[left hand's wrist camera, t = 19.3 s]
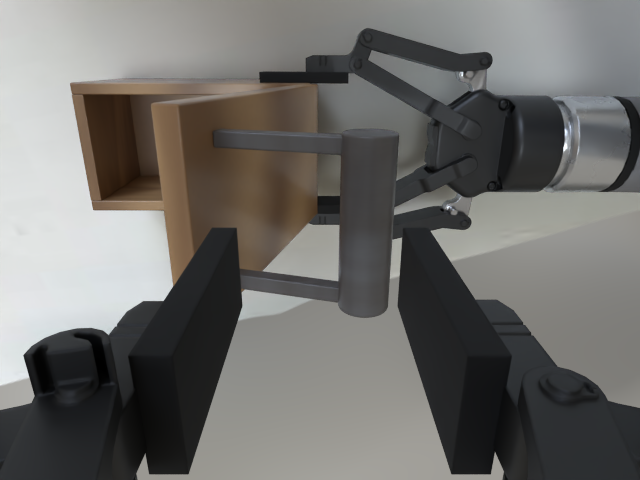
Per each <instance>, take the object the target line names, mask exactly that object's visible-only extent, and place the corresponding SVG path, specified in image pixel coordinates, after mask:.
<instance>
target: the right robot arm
mask: <svg viewBox="0 0 640 480" xmlns="http://www.w3.org/2000/svg"><path fill="white" fill-rule="evenodd" d="M371 50H373V51H377V52H380V53H384V54H387V55H391V56H395V57H398V58H402V59H405V60H409V61H412V62H416V63H419V64H423V65H426V66H430V67H434V68H437V69H441V70H445V71H456V78H457V80H458V81H460V82H465V83H467V84H468V86H469V91H468V92H466V93H465V94H464V95H462V96H461V97H459V98H458V99H456V100H455V101H453V102H452V103H451V104H449V105H448V106H446V105H444V104H442V103H441V102H439V101H437V100H435V99H433V98H432V97H430V96H428V95H426V94H425V93H423V92H421V91H420V90H418V89H416V88H414V87H413V86H411V85H409V84H408V83H406V82H404V81H403V80H401V79H399V78H397V77H396V76H394V75H392V74H391V73H389V72H387V71H386V70H384V69H382V68H380V67H379V66H377V65H375V64H374V63H372V62H370V61H368V58H369V55H370V53H371ZM492 61H493V60H492V56H491V54H489V53H487V52H480V53H469V54H457V53H454V52H450V51H447V50H443V49H440V48H436V47H433V46H429V45H426V44H422V43H419V42H415V41H412V40H408V39H405V38H401V37H398V36H394V35H391V34H387V33H384V32H380V31H377V30H374V29H369V28H367V29H364V30H363V31H361V32H360V33H359V34H358V37H357V40H356V43H355V46H354V48H353V50H352V52H351V53H350V54H348V55H345V56H337V55H312V56H310V57H308V58H306V72H259V74H260V83H348V74H349V73H355V74H356V75H358V76H360V77H362V78H363V79H365V80H367V81H369V82H370V83H372V84H374V85H376V86H377V87H379V88H381V89H382V90H384V91H386V92H388V93H389V94H391V95H393V96H395V97H396V98H398V99H400V100H401V101H403V102H405V103H407V104H408V105H410V106H412V107H414V108H415V109H417V110H419V111H420V112H422V113H424V114H425V115H427V116H429V117H431V118H432V119H431V121H430V123H428V128H427V135H428V141H429V143H428V146H427V149H426V152H425V162H426V165H424V166H422V167H420V168H418V169H416V170H415V171H414V172H413V173H412V174H410V175H408V176H406V177H404V178H402V179H400V180H398V181H396V188H395V204H394V207H396V206H398V205H400V204H402V203H404V202H406V201H408V200H410V199H412V198H414V197H416V196H418V195H420V194H422V193H425V192H431V191H433V190H435V189H437V188H439V187H441V186H444V185H448V186H449V187H450V188H451V189H453V190H454V191H455V192H457V196H456V197H455V198H454V199H452V200H447V201H445V202H444V203H443V205H442V206H433V207H427V208H423V209H419V210H415V211H410V212H406V213H402V214H398V215H394V219H393V234H392V239H397V238H401V237H403V228H429V230H430V231H431V230H436V229H440V228H449V229H459V230H466V229H468V228H469V227H470V225H471V219H470V218H469V217H468V213H469V209H470V204H471V200H472V197H475V196H477V195H479V194H481V193H484V192H538V191H541V190H542V189H543V190H545V191H546V192H640V97H616V96H556V97H555V98H553V99H552V98H550V97H548V96H498V95H494V94H492V93H491V92H489V91H487V90H486V75H487V69H488V68H489V67H490V66H491V64H492ZM309 223H310V224H313V225H340V196H317V214H316V216H315V217H314V218H313V219H312V220H311V221H310V222H309Z"/></svg>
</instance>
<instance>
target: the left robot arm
mask: <svg viewBox="0 0 640 480" xmlns="http://www.w3.org/2000/svg"><path fill="white" fill-rule="evenodd" d="M398 308H399V312H400V315H401V318H402V321H403V324H404V327H405V330H406V334H407V337H408V340H409V343H410V346H411V349H412V352H413V355H414V359H415V362H416V365H417V368H418V371H419V374H420V377H421V380H422V383H423V387H424V390H425V393H426V396H427V399H428V402H429V405H430V409H431V412H432V415H433V418H434V421H435V424H436V427H437V430H438V433H439V437H440V440H441V443H442V446H443V449H444V452H445V455H446V458H447V462H448V465H449V468H450V471H451V474H491V470H492V464H493V458H494V453H495V452H496V455H497V457H498V459H499V461H500V463H501V466H502V468H503V470H504V475H503V480H640V408H637V407H632V406H627V405H622V404H618V403H614V402H610V401H608V400H607V398H606V396H605V395H604V393H603V392H602V391H601V389H600V388H599V387H598V386H597V385H596V384H595V383H593V382H592V381H591V380H589V379H588V378H586V377H585V376H583V375H580V374H578V373H576V372H574V371H571V370H568V369H564V368H560V367H557V365H556V364H555V363H554V362H553V360H552V359H551V358H550V356H549V355H548V354H547V353H546V351H545V350H544V349H543V347H542V346H541V345H540V344H539V342H538V341H537V340H536V338H535V337H534V336H531V332H530V331H529V330H528V328H527V327H526V326H525V325H523V322H522V321H521V319H520V318H519V317H518V316H517V314H516V313H515V312H514V310H512V309H511V308H509V307H507V306H506V305H504V304H503V303H501V302H500V301H498V300H475V298H474V297H473V295H472V294H471V292H470V291H469V289H468V288H467V286H466V285H465V283H464V282H463V280H462V279H461V277H460V276H459V274H458V273H457V271H456V270H455V268H454V267H453V265H452V263H451V262H450V260H449V259H448V257H447V256H446V254H445V253H444V251H443V250H442V248H441V247H440V245H439V244H438V242H437V241H436V239H435V238H434V236H433V235H432V233H431V232H430V230H429V228H403V237H402V251H401V266H400V280H399V294H398ZM241 309H242V294H241V280H240V266H239V251H238V237H237V228H211V230H210V232H209V233H208V235H207V236H206V238H205V239H204V241H203V242H202V244H201V245H200V247H199V248H198V250H197V251H196V253H195V254H194V256H193V257H192V259H191V260H190V262H189V263H188V265H187V267H186V268H185V270H184V271H183V273H182V274H181V276H180V277H179V279H178V280H177V282H176V283H175V285H174V286H173V288H172V289H171V291H170V292H169V294H168V295H167V297H166V298H165V300H164V301H143V302H141V303H140V304H138V305H137V306H135V307H134V308H132V309H131V310H129V311H127V312H126V314H125V315H124V316H123V317H122V319H121V320H120V321H119V323H118V324H117V327H115V328H114V329H113V330H112V332H111V333H110V334H109V335H108V334H106V333H105V332H104V331H102V330H98V329H93V328H78V329H72V330H68V331H63V332H59V333H57V334H54V335H51V336H49V337H46V338H44V339H43V340H41V341H39V342H38V343H36V344H34V345H33V346H31V348H30V349H29V350H28V351H27V352H26V353H25V354H24V355H23V356H24V359H25V363H26V366H27V370H28V374H29V377H30V381H31V384H32V388H33V391H34V395H35V397H34V399H33V401H32V403H30V404H26V405H23V406H18V407H13V408H8V409H4V410H0V480H137V475H136V473H137V470H138V468H139V466H140V464H141V461H142V459H143V457H144V455H145V453H146V459H147V464H148V470H149V474H189V471H190V468H191V465H192V462H193V458H194V455H195V452H196V449H197V446H198V443H199V440H200V437H201V434H202V430H203V427H204V424H205V421H206V418H207V415H208V412H209V408H210V405H211V402H212V399H213V396H214V393H215V390H216V387H217V383H218V380H219V377H220V374H221V371H222V368H223V365H224V362H225V359H226V355H227V352H228V349H229V346H230V343H231V340H232V337H233V334H234V330H235V327H236V324H237V321H238V318H239V315H240V312H241Z"/></svg>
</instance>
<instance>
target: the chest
mask: <svg viewBox="0 0 640 480" xmlns="http://www.w3.org/2000/svg"><path fill="white" fill-rule="evenodd" d="M299 84H311V83H260V79H112V80H99V81H87V82H74V83H70V86H71V91H72V94H73V95H72V98H73V104H74V109H75V115H76V120H77V125H78V131H79V136H80V142H81V147H82V153H83V158H84V164H85V169H86V175H87V180H88V185H89V191H90V196H91V200H92V206H93V210H164V207H163V199H162V191H161V182H160V174H159V166H158V158H157V150H156V142H155V134H154V126H153V118H152V110H151V104H152V103H156V102H164V101H172V100H180V99H188V98H196V97H204V96H212V95H220V94H227V93H235V92H243V91H251V90H259V89H267V88H275V87H283V86H291V85H299Z"/></svg>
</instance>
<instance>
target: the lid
mask: <svg viewBox="0 0 640 480" xmlns="http://www.w3.org/2000/svg"><path fill="white" fill-rule="evenodd" d="M151 110H152V118H153V126H154V134H155V142H156V150H157V158H158V166H159V174H160V182H161V191H162V199H163V207H164V215H165V223H166V231H167V239H168V247H169V255H170V263H171V271H172V279H173V286H174V285H175V283H176V282H177V280H178V279H179V277H180V276H181V274H182V273H183V271H184V270H185V268H186V267H187V265H188V263H189V262H190V260H191V259H192V257H193V256H194V254H195V253H196V251H197V250H198V248H199V247H200V245H201V244H202V242H203V241H204V239H205V238H206V236H207V235H208V233H209V232H210V230H211V228H237V237H238V251H239V266H240V280H241V293H242V291H243V290H244V289H247V290H254V291H261V292H268V293H275V294H282V295H289V296H296V297H303V298H310V299H317V300H324V301H331V302H338V306H339V308H340V309H341V310H342V311H343V312H344V313H346V314H348V315H351V316H355V317H361V318H369V317H375V316H379V315H381V314H382V313H384V312H385V311H386V309H387V307H388V295H389V280H390V265H391V249H392V234H393V219H394V204H395V188H396V173H397V158H398V142H399V134H398V133H397V132H395V131H390V130H383V129H352V130H346V131H344V132H342V134H329V133H318V85H317V84H299V85H291V86H283V87H275V88H267V89H259V90H251V91H243V92H235V93H227V94H220V95H212V96H204V97H196V98H188V99H180V100H172V101H164V102H156V103H152V104H151ZM318 154H334V155H341V184H340V232H339V280H338V281H331V280H323V279H316V278H308V277H301V276H293V275H285V274H278V273H270V272H262V271H263V270H264V269H265V268H266V267H267V265H268V264H269V263H270V262H271V261H272V260H273V259H274V258H275V257H276V256H277V255H278V254H279V253H280V252H281V251H282V250H283V249H284V248H285V247H286V246H287V245H288V244H289V243H290V242H291V240H292V239H293V238H294V237H295V236H296V235H297V234H298V233H299V232H300V231H301V230H302V229H303V228H304V227H305V226H306V225H307V224H308V223H309V222H310V221H311V220H312V219H313V218H314V217H315V216H316V214H317V164H318Z"/></svg>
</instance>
